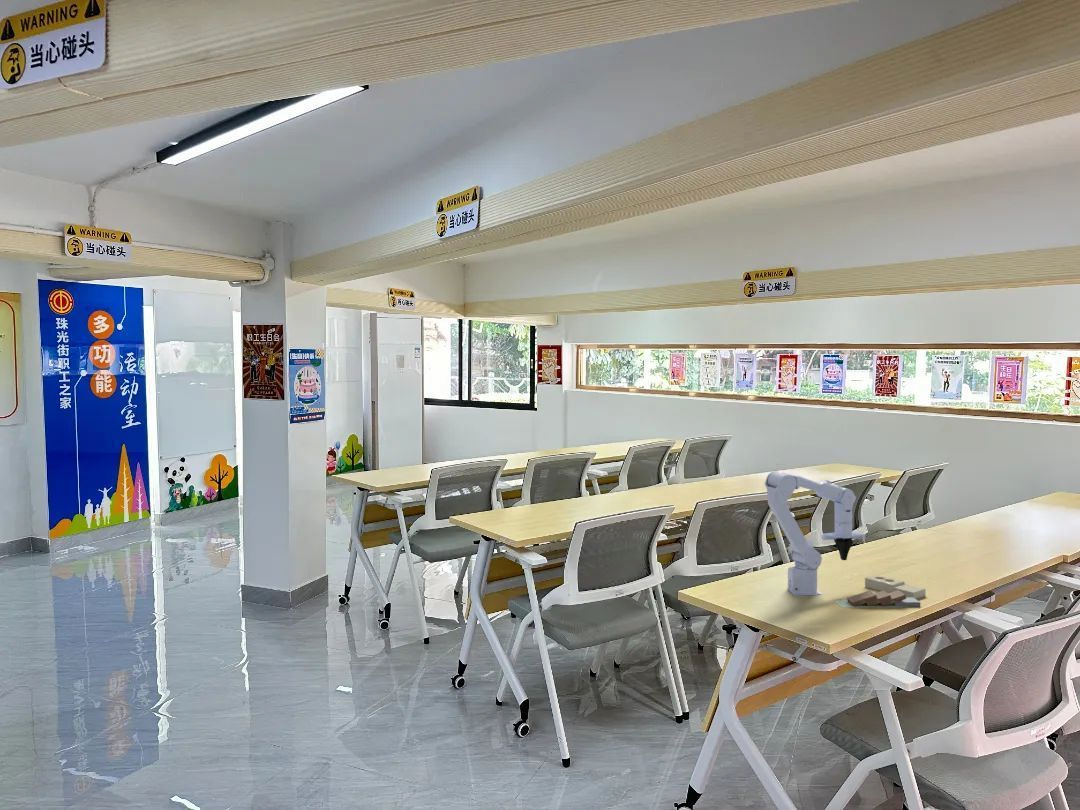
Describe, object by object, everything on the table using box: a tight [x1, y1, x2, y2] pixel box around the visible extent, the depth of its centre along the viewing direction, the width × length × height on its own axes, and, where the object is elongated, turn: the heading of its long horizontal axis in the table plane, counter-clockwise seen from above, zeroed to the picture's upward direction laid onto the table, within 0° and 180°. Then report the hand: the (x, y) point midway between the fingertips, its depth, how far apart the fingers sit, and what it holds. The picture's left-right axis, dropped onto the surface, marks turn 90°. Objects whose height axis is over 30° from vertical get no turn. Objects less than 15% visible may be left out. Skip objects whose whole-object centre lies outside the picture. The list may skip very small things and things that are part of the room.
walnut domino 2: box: [864, 591, 891, 606], centre depth 241 cm, size 1×5×8 cm
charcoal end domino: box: [892, 597, 921, 608], centre depth 240 cm, size 1×5×8 cm
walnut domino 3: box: [878, 590, 906, 608], centre depth 241 cm, size 1×5×8 cm
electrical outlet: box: [864, 574, 927, 600], centre depth 254 cm, size 7×4×18 cm
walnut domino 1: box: [846, 590, 877, 606], centre depth 241 cm, size 1×5×8 cm
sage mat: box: [833, 599, 896, 608], centre depth 241 cm, size 20×7×1 cm, turn 88°
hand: (843, 559), depth 259 cm, fingers closed
